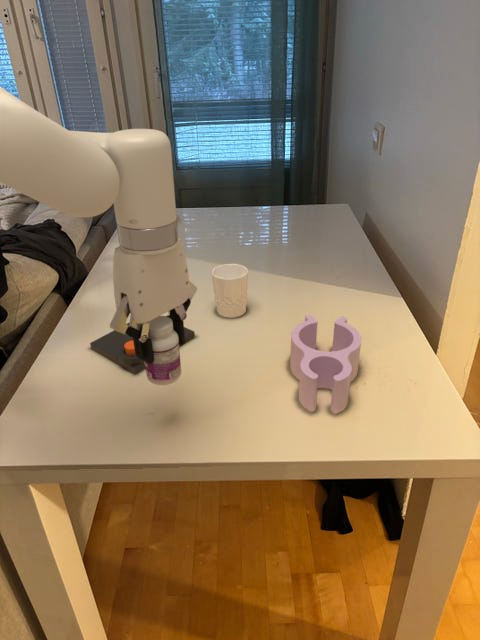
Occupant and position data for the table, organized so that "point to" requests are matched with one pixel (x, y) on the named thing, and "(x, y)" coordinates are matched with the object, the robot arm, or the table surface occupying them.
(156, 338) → the pill bottle
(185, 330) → the scale
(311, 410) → the clip
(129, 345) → the button
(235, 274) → the white cup
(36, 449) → the table surface
